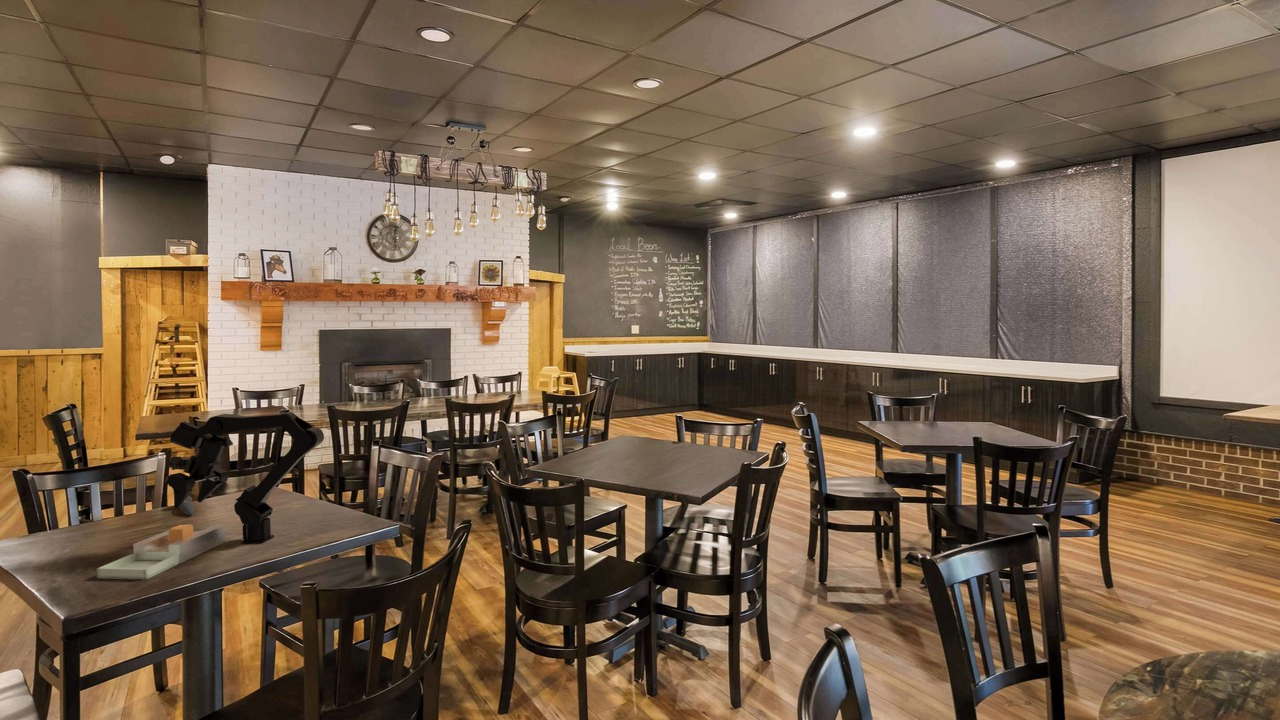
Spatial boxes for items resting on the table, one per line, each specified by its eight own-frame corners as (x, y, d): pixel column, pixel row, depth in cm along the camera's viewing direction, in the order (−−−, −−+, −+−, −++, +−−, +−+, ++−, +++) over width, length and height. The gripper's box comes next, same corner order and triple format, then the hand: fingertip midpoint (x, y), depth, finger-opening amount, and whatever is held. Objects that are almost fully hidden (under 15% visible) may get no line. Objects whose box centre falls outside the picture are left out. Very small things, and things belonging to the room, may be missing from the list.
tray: (178, 564, 181) (178, 554, 181) (146, 579, 170) (145, 569, 170) (132, 563, 182) (132, 553, 182) (97, 578, 171) (96, 568, 171)
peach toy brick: (193, 539, 192) (192, 525, 192) (183, 543, 188) (182, 529, 188) (180, 538, 193) (179, 525, 192) (169, 543, 189) (168, 529, 188)
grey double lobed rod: (204, 514, 229) (203, 500, 228) (186, 518, 225) (186, 503, 225) (187, 504, 242) (187, 490, 242) (171, 507, 238) (170, 493, 238)
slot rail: (225, 541, 199) (225, 525, 199) (180, 563, 181) (179, 544, 181) (183, 541, 200) (182, 524, 200) (134, 562, 182) (133, 544, 182)
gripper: (206, 441, 208) (186, 488, 207) (159, 447, 189) (137, 499, 189) (238, 455, 207) (218, 503, 207) (194, 463, 188) (173, 515, 188)
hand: (187, 504), depth 198 cm, fingers open, 9 cm apart
